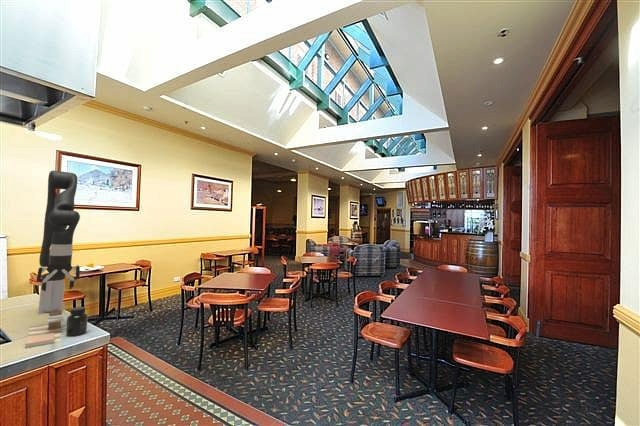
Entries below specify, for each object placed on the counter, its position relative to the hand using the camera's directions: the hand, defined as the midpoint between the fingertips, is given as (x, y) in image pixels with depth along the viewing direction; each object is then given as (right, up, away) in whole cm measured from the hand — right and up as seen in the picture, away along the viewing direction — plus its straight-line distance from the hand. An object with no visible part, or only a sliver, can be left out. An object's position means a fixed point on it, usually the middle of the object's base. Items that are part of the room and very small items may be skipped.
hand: (57, 289), depth 127 cm
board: (+1, -18, -7) cm, 19 cm away
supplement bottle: (+13, -19, -6) cm, 24 cm away
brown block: (+2, -17, -3) cm, 17 cm away
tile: (+5, -16, -12) cm, 21 cm away
